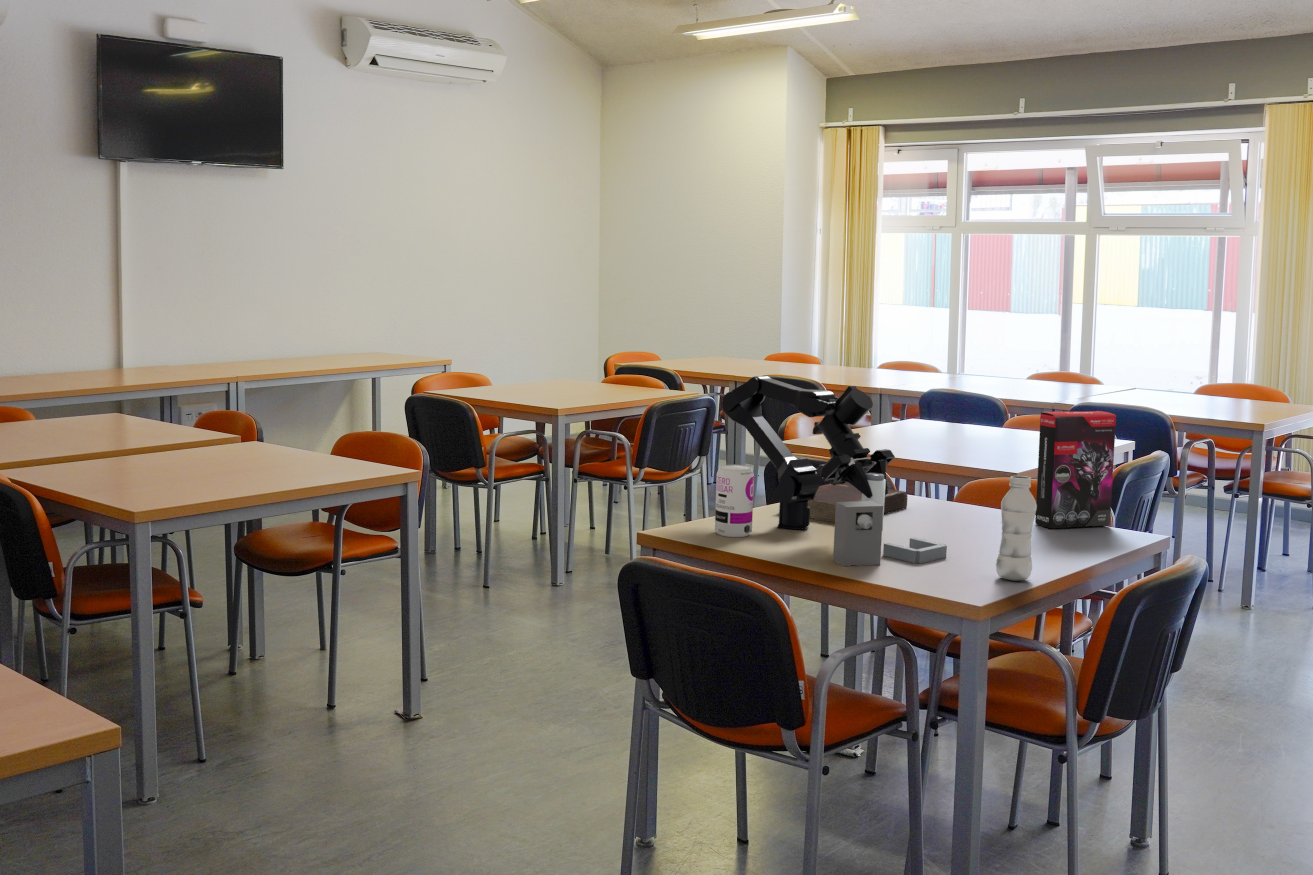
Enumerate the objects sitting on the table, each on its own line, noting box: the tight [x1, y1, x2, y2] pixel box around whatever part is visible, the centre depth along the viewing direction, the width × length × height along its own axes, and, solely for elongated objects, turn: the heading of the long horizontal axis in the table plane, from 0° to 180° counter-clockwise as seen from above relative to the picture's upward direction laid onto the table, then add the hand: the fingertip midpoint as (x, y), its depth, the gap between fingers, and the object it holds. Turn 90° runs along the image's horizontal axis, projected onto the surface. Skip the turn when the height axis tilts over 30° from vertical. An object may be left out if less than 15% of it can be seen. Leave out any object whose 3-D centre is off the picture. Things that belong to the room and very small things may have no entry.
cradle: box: [882, 537, 948, 564], centre depth 236 cm, size 9×10×2 cm
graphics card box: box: [1034, 410, 1117, 529], centre depth 270 cm, size 17×7×27 cm, turn 107°
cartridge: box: [862, 472, 887, 532], centre depth 244 cm, size 5×5×12 cm
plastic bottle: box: [995, 475, 1037, 582], centre depth 218 cm, size 6×7×20 cm
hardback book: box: [808, 482, 908, 523], centre depth 283 cm, size 29×19×5 cm, turn 140°
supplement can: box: [714, 464, 755, 538], centre depth 252 cm, size 8×8×15 cm
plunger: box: [856, 512, 873, 529], centre depth 229 cm, size 9×4×4 cm, turn 15°
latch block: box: [832, 501, 884, 567], centre depth 229 cm, size 5×8×12 cm, turn 105°
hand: (878, 495), depth 242 cm, fingers closed on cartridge, 5 cm apart
